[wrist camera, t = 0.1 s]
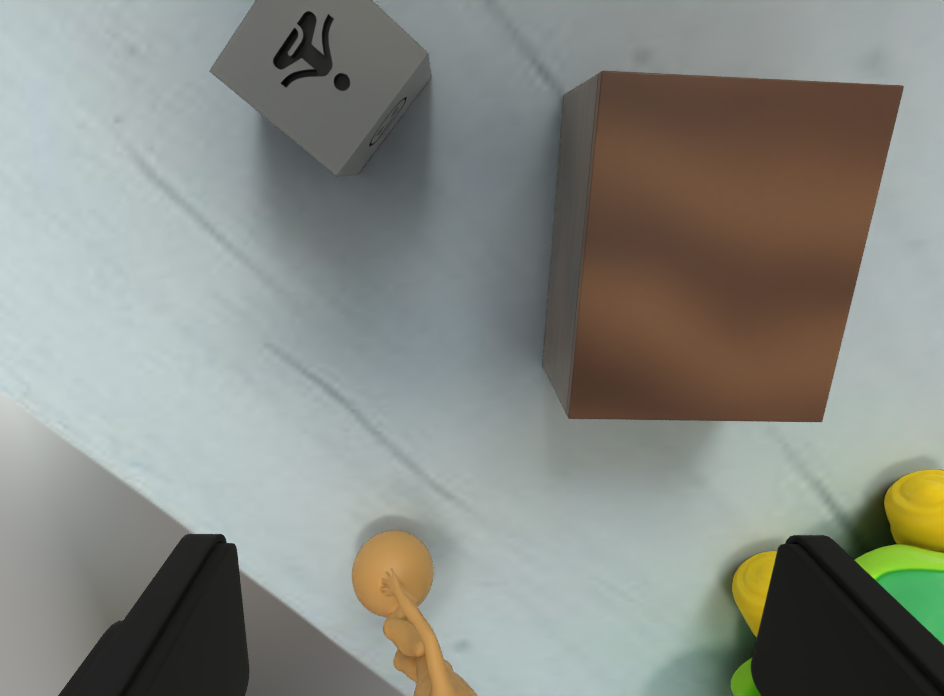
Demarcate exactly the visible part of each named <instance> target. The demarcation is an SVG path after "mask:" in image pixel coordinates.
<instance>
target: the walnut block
mask: <svg viewBox="0 0 944 696" xmlns="http://www.w3.org/2000/svg"><path fill="white" fill-rule="evenodd" d="M903 88H904V86H900V85H880V84H860V83H840V82H820V81H799V80H779V79H759V78H739V77H719V76H699V75H678V74H658V73H638V72H618V71H601V72H600V73H598V74H597V75H595V76H593V77H592V78H590V79H589V80H587V81H585V82H584V83H582V84H581V85H579V86H577V87H576V88H574V89H573V90H571V91H569V92H568V93H566V94H565V95H564V97H563V110H562V123H561V135H560V148H559V161H558V173H557V186H556V199H555V211H554V224H553V237H552V249H551V262H550V275H549V287H548V300H547V313H546V325H545V338H544V351H543V364H542V366H543V368H544V370H545V372H546V374H547V376H548V378H549V380H550V382H551V384H552V386H553V388H554V390H555V392H556V394H557V396H558V398H559V400H560V402H561V404H562V406H563V408H564V410H565V412H566V414H567V416H568V418H569V419H637V420H707V421H777V422H822V420H823V416H824V412H825V408H826V404H827V399H828V395H829V391H830V387H831V383H832V379H833V375H834V371H835V367H836V363H837V358H838V354H839V350H840V346H841V342H842V338H843V334H844V330H845V326H846V322H847V317H848V313H849V309H850V305H851V301H852V297H853V293H854V289H855V285H856V281H857V276H858V272H859V268H860V264H861V260H862V256H863V252H864V248H865V244H866V240H867V235H868V231H869V227H870V223H871V219H872V215H873V211H874V207H875V203H876V199H877V194H878V190H879V186H880V182H881V178H882V174H883V170H884V166H885V162H886V158H887V154H888V149H889V145H890V141H891V137H892V133H893V129H894V125H895V121H896V117H897V113H898V108H899V104H900V100H901V96H902V92H903Z"/></svg>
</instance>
